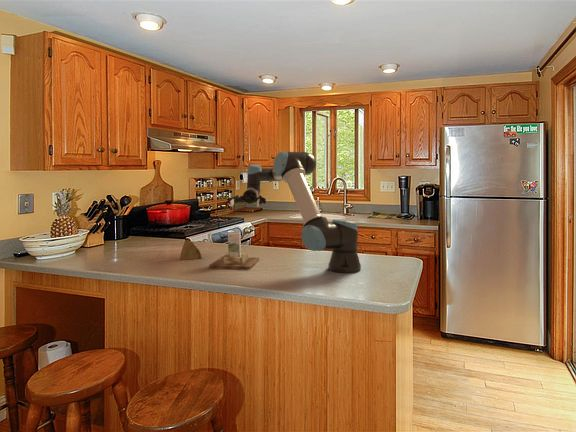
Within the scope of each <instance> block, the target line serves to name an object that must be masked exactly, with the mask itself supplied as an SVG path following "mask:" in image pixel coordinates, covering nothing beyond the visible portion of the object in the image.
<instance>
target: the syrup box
mask: <svg viewBox="0 0 576 432" xmlns="http://www.w3.org/2000/svg"><path fill="white" fill-rule="evenodd" d="M241 235H242V233H241V231H229V232H228V233H227V243H228V244H227V248H228V249H227V250H228V252H227V253H228V257H241V253H242V243H241V241H242V239H241V238H242V237H241Z"/></svg>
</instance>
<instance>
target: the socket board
mask: <svg viewBox="0 0 576 432" xmlns="http://www.w3.org/2000/svg"><path fill="white" fill-rule="evenodd" d="M248 255H249V254H248V253H245V252H244V253H243V252H241V257H228V252H227V253H226V254H224V255H223V256H220V257H219V258H217V259H215V261H213V262H212V263H210V264H209V265H208V269H212V270H213V269H214V270H217V269H218V270H241V269H250V270H251V269H252V268H253V267H254V266H256V265H257V263H258V262H260V257H253V256H252V257H251V256H250V257H249V256H248Z"/></svg>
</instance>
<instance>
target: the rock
mask: <svg viewBox="0 0 576 432" xmlns="http://www.w3.org/2000/svg"><path fill="white" fill-rule="evenodd" d="M197 259H202V254H201V251H200V249H198V248H197V246H196V245H195V244H194V242H192V241H191V240H188V239H185V241H184V243H183V245H182V248H181V252H180V256H179V261H188V260H189V261H190V260H197Z"/></svg>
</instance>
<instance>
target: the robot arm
mask: <svg viewBox="0 0 576 432" xmlns="http://www.w3.org/2000/svg"><path fill="white" fill-rule="evenodd" d="M316 168H317V160H316V158H315V157H314V155H313V154H311V153H310V152H307V151H280V152H278V153H277V154H276V155H275V157H274V159H273V167H271V168H267V167H265V168H262V166H261V165H260V164H249V165H248V167H247V174H246V175H247V176H246V177H247V181H246V182H247V183H246V190H245V191H244V192H243V194H242V195H235V196H233V197H228V198H227V199H226V200H227V204H229V206H230V208H232V207H233V206H234V205H235V204H237V203H246V204H249V205H252V204H254V203H256V208H259V207H260V206H261V205H262V204H264V205H266V203H267V200H266V198H265V197H263V196H262V195H260V194H261V183H262V182H281V181H283V182H284V183H285V184H287V185H288V187H289V190H290V191H291V194H292V196H293V199H294V201H295V203H296V206H297V209H298V211H299V213H300V216H301V219H302V220H303V225H302V229H301V240H302V243H303V245H304V246H305V247H306V249H307V250H309V251H312V252H322V251H327V250H331V255H330V259H329V262H328V271H331V272H334V273H341V274H342V273H344V274H347V273H348V274H349V273H357V272H359V271H362V265H361V262H360V257H359V255H358V232H359V229H358V224H357V222H355V221H353V220H352V221H351V220H344V219H335V218H334V219H332V222H331V223H329V221H328V219H327V217H326V216H324V215H322V213H321V211H320V209H319V207H318V205H317V204H318V203H316V200H315V198H314V195H313V194H312V190H311V189H310V186H309V185H308V182H307V179H306V177H305V176H308V175H310V174H313V173H314V172H315V171H316Z"/></svg>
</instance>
